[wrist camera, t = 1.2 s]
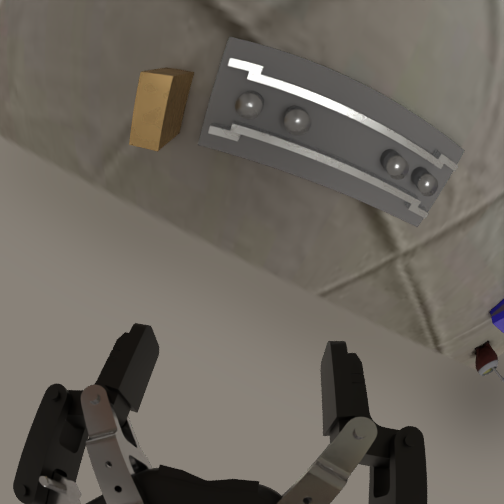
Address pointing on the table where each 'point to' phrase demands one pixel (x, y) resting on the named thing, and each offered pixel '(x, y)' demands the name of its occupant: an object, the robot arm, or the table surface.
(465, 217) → the table surface
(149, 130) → the tall wooden block
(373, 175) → the grey studded track end
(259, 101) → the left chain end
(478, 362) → the mate gourd
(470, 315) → the table surface
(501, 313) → the stapler
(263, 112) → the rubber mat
